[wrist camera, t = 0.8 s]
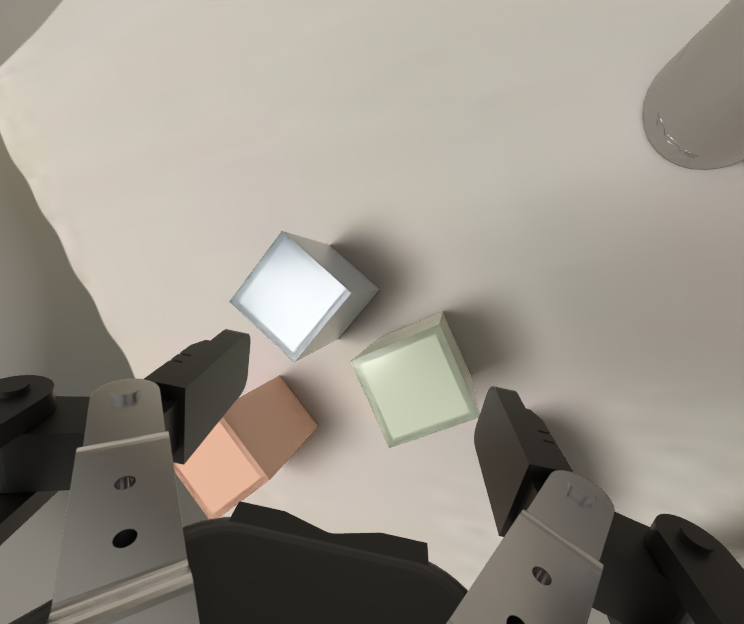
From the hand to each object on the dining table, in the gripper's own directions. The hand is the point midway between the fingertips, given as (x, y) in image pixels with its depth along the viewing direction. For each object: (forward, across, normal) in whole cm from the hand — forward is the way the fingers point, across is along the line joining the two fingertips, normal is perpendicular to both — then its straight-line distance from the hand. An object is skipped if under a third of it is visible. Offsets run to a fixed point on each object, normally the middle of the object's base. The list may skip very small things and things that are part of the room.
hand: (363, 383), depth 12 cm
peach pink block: (+20, +8, +18) cm, 28 cm away
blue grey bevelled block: (+22, +5, +4) cm, 23 cm away
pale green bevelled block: (+20, -5, +8) cm, 22 cm away
